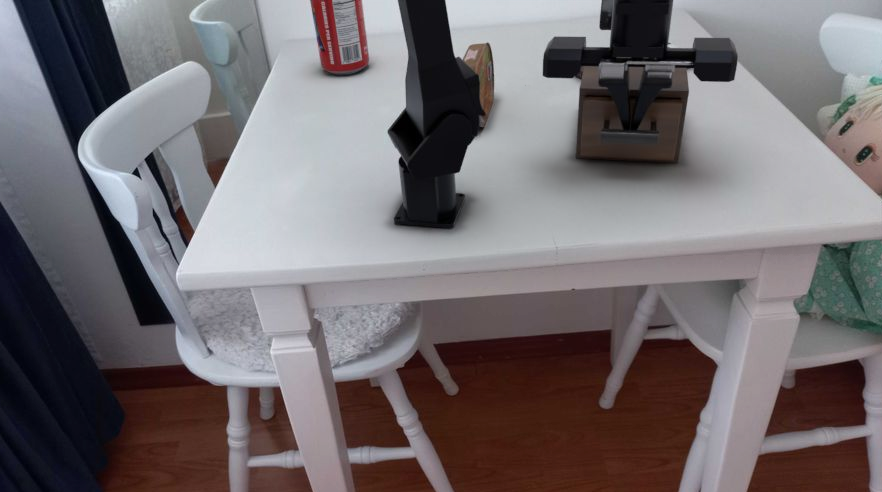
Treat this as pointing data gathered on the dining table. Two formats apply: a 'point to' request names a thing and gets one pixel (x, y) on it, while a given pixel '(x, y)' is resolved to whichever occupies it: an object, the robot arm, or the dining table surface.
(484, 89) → the tin
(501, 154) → the dining table surface
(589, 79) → the cabinet
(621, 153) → the drawer
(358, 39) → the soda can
